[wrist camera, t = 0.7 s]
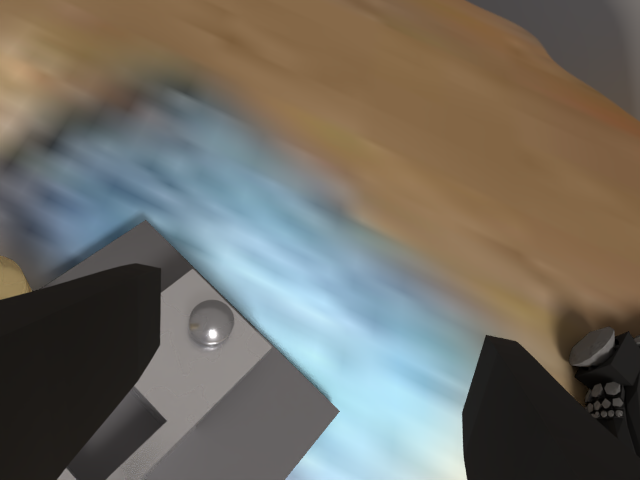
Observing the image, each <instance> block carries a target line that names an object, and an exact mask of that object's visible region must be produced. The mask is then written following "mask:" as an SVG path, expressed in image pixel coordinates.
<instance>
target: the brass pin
mask: <svg viewBox="0 0 640 480" xmlns="http://www.w3.org/2000/svg"><path fill="white" fill-rule="evenodd" d="M28 292H32V290H31V288H30V286H29V284H28V282H27V280H26V278H25V276H24V274H23V272H22V270H21V268H20V267H19V266H18V265H17V264H16V263H15V262H14V261H12V260H11V259H9V258H6V257H4V256H0V300H2V299H5V298H9V297H13V296H17V295H20V294H24V293H28Z"/></svg>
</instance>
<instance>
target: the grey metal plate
mask: <svg viewBox="0 0 640 480" xmlns="http://www.w3.org/2000/svg"><path fill="white" fill-rule="evenodd" d="M271 348H272V346H271V345H270V344H269V343H268V342H267V341H266V340H265V339H264V338H263V337H262V336H261V335H259V334H258V333H257V332H256V331H255V330H254V329H253V328H252V327H251V326H250V325H249V324H248V323H247V322H246V321H245V320H244V319H243V318H242V317H241V316H240V315H239V314H238V313H237V312H236V311H235V310H234V309H233V308H232V307H231V306H230V305H229V304H228V303H227V302H226V301H225V300H224V299H223V298H222V297H221V296H220V295H219V294H218V293H217V292H216V291H215V290H214V289H213V288H212V287H211V286H210V285H209V284H208V283H207V282H206V281H205V280H204V279H203V278H202V277H201V276H200V275H199V274H198V273H197V272H196V271H195V270H194V269H192V270H190V271H189V272H188V273H186V274H185V275H184V276H182V277H181V278H180V279H179V280H177V281H176V282H175V283H173V284H172V285H171V286H169V287H168V288H167V289H166V290H164V291H163V292H162V293H161V321H160V346H159V348H158V350H157V351H156V353H155V355H154V356H153V358H152V360H151V361H150V363H149V365H148V366H147V368H146V369H145V371H144V372H143V374H142V376H141V377H140V379H139V380H138V382H137V383H136V384H135V385H134V387H133V388H132V389H131V390H130V392H131V393H132V394H133V395H134V396H135V397H136V398H137V399H138V400H139V401H140V402H141V403H142V405H143V406H144V407H145V408H146V409H147V410H148V411H149V412H150V413H151V414H152V415H153V416H154V417H155V418H156V420H157V421H158V422H159V423H160V424H161V425H162V426H161V427H160V428H159V429H158V430H157V431H156V432H155V433H154V434H153V435H152V436H151V437H150V438H149V439H148V440H147V441H146V442H145V443H144V444H143V445H142V446H140V447H139V448H138V449H137V450H136V451H135V452H134V453H133V454H132V455H131V456H130V457H129V458H128V459H127V460H126V461H125V462H124V463H123V464H122V465H121V466H120V467H118V468H117V469H116V470H115V471H114V472H113V473H112V474H111V475H110V476H109V477H108V478H107V479H106V480H145V479H146V478H147V477H148V476H149V475H150V474H151V473H152V472H153V471H154V470H155V469H156V468H157V467H158V466H159V465H160V464H161V463H162V462H163V461H164V460H165V459H166V458H167V457H168V456H169V455H170V454H171V453H172V452H173V451H174V450H175V449H176V448H177V447H178V446H179V445H180V444H181V443H182V442H183V441H184V440H185V439H186V438H187V437H188V436H189V435H190V434H191V433H192V432H193V431H194V430H195V428H196V426H197V424H198V423H199V422H200V421H201V420H202V419H203V418H204V417H205V416H206V415H207V414H208V413H209V412H210V411H211V410H212V409H213V408H214V407H215V406H216V405H217V404H218V403H219V402H220V401H221V400H222V399H223V398H224V397H225V396H226V395H227V394H228V393H229V392H230V391H231V390H232V389H233V388H234V387H235V386H236V385H237V384H238V383H239V382H240V381H241V380H242V379H243V378H244V377H245V376H246V375H247V374H248V373H249V372H250V371H251V370H252V369H253V368H254V367H255V366H256V365H257V364H258V363H259V362H260V361H261V360H262V359H263V358H264V357H265V356H266V355H267V354H268V353H269V351H270V350H271ZM57 480H79V479H78V478H77V476H76V475H75V474H74V473H73V472H72V471H71V470H70V468H69V467H68V466H67V467H66V469H65V470H64V471H63V473H62V474H61V475H60V476H59V478H58V479H57Z"/></svg>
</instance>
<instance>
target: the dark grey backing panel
mask: <svg viewBox="0 0 640 480" xmlns="http://www.w3.org/2000/svg"><path fill="white" fill-rule="evenodd" d="M134 263H138V264H143V265H148V266H153V267H157V268H161V293H162V292H163V291H164V290H166V289H167V288H168V287H169V286H171V285H172V284H173V283H175V282H176V281H177V280H179V279H180V278H181V277H182V276H184V275H185V274H186V273H188V272H189V271H190V270H192V269H194V270H195V271H196V272H197V273H198V274H199V275H200V276H201V277H202V278H203V279H204V280H205V281H206V282H207V283H208V284H209V285H210V286H211V287H212V288H213V289H214V290H215V291H216V292H217V293H218V294H219V295H220V296H221V297H222V298H223V299H224V300H225V301H226V302H227V303H228V304H229V305H230V306H231V307H232V308H233V309H234V310H235V311H236V312H237V313H238V314H239V315H240V316H241V317H242V318H243V319H244V320H245V321H246V322H247V323H248V324H249V325H250V326H251V327H252V328H253V329H254V330H255V331H256V332H257V333H258V334H259V335H261V336H262V337H263V338H264V339H265V340H266V341H267V342H268V343H269V344H270V345H271V346H272V348H271V350H270V351H269V353H268V354H267V355H266V356H265V357H264V358H263V359H262V360H261V361H260V362H259V363H258V364H257V365H256V366H255V367H254V368H253V369H252V370H251V371H250V372H249V373H248V374H247V375H246V376H245V377H244V378H243V379H242V380H241V381H240V382H239V383H238V384H237V385H236V386H235V387H234V388H233V389H232V390H231V391H230V392H229V393H228V394H227V395H226V396H225V397H224V398H223V399H222V400H221V401H220V402H219V403H218V404H217V405H216V406H215V407H214V408H213V409H212V410H211V411H210V412H209V413H208V414H207V415H206V416H205V417H204V418H203V419H202V420H201V421H200V422H199V423H198V424H197V426H196V428H195V430H194V431H193V432H192V433H191V434H190V435H189V436H188V437H187V438H186V439H185V440H184V441H183V442H182V443H181V444H180V445H179V446H178V447H177V448H176V449H175V450H174V451H173V452H172V453H171V454H170V455H169V456H168V457H167V458H166V459H165V460H164V461H163V462H162V463H161V464H160V465H159V466H158V467H157V468H156V469H155V470H154V471H153V472H152V473H151V474H150V475H149V476H148V477H147V478H146V479H145V480H285V479H286V477H287V476H288V475H289V474H290V472H291V471H292V470H293V469H294V468H295V466H296V465H297V464H298V463H299V461H300V460H301V459H302V458H303V456H304V455H305V454H306V453H307V451H308V450H309V449H310V448H311V446H312V445H313V444H314V443H315V441H316V440H317V439H318V438H319V436H320V435H321V434H322V433H323V432H324V430H325V429H326V428H327V427H328V425H329V424H330V423H331V422H332V420H333V419H334V418H335V417H336V415H337V414H338V413H339V412H340V411H339V410H338V409H337V408H336V407H335V406H334V405H333V404H332V403H331V402H330V401H329V400H328V399H327V398H326V397H325V396H324V395H323V394H322V393H321V392H320V391H319V390H318V389H317V388H316V387H315V386H314V385H313V384H312V383H310V382H309V381H308V380H307V379H306V378H305V377H304V376H303V375H302V374H301V373H300V372H299V371H298V370H297V369H296V368H295V367H294V366H293V365H292V364H291V363H290V362H289V361H288V360H287V359H286V358H285V357H284V356H283V355H282V354H281V353H280V352H279V351H278V350H277V349H276V348H275V347H274V346H273V345H272V344H271V343H270V342H269V341H268V340H267V339H266V338H265V337H264V336H263V335H262V334H261V333H260V332H259V331H258V330H257V329H256V328H255V327H254V326H253V325H252V324H251V323H250V322H249V321H248V320H247V319H246V318H245V317H244V316H243V315H242V314H241V313H240V312H239V311H238V310H237V309H236V308H234V307H233V306H232V305H231V304H230V303H229V302H228V301H227V300H226V299H225V298H224V297H223V296H222V295H221V294H220V293H219V292H218V291H217V290H216V289H215V288H214V287H213V286H212V285H211V284H210V283H209V282H208V281H207V280H206V279H205V278H204V277H203V276H202V275H201V274H200V273H199V272H198V271H197V270H196V269H195V268H194V267H193V266H192V265H191V264H190V263H189V262H188V261H187V260H186V259H185V258H184V257H183V256H182V255H181V254H180V253H179V252H178V251H177V250H176V249H175V248H174V247H173V246H172V245H171V244H170V243H169V242H168V241H167V240H166V239H165V238H164V237H163V236H162V235H161V234H159V233H158V232H157V231H156V230H155V229H154V228H153V227H152V226H151V225H150V224H149V223H148V222H147V221H146V220H145V221H143V222H142V223H140V224H139V225H137V226H136V227H134V228H133V229H131V230H130V231H128V232H126V233H125V234H123V235H122V236H120V237H119V238H117V239H116V240H114V241H113V242H111V243H110V244H108V245H107V246H105V247H104V248H102V249H101V250H99V251H97V252H96V253H94V254H93V255H91V256H90V257H88V258H87V259H85V260H84V261H82V262H81V263H79V264H78V265H76V266H75V267H73V268H71V269H70V270H68V271H67V272H65V273H64V274H62V275H61V276H59V277H58V278H56V279H55V280H53V281H52V282H50V283H49V284H47V285H45V286H44V287H42V288H41V289H43V288H47V287H50V286H53V285H57V284H60V283H63V282H67V281H70V280H74V279H77V278H80V277H84V276H87V275H90V274H94V273H97V272H101V271H104V270H108V269H111V268H115V267H119V266H123V265H128V264H134ZM161 426H162V425H161V424H160V423H159V422H158V421H157V420H156V418H155V417H154V416H153V415H152V414H151V413H150V412H149V411H148V410H147V409H146V408H145V407H144V406H143V405H142V403H141V402H140V401H139V400H138V399H137V398H136V397H135V396H134V395H133V394H132V393H131V392H129V393H128V394H127V395H126V396H125V398H124V399H123V400H122V401H121V402H120V404H119V405H118V406H117V407H116V409H115V410H114V411H113V412H112V413H111V415H110V416H109V417H108V418H107V419H106V420H105V422H104V423H103V424H102V425H101V426H100V428H99V429H98V430H97V431H96V432H95V434H94V435H93V436H92V437H91V438H90V440H89V441H88V442H87V443H86V444H85V445H84V447H83V448H82V449H81V450H80V451H79V453H78V454H77V455H76V456H75V457H74V459H73V460H72V461H71V462H70V464H69V465H68V467H69V468H70V470H71V471H72V472H73V473H74V474H75V475H76V476H77V478H78V479H79V480H106V479H107V478H108V477H109V476H110V475H111V474H112V473H113V472H114V471H115V470H116V469H117V468H118V467H120V466H121V465H122V464H123V463H124V462H125V461H126V460H127V459H128V458H129V457H130V456H131V455H132V454H133V453H134V452H135V451H136V450H137V449H138V448H139V447H140V446H142V445H143V444H144V443H145V442H146V441H147V440H148V439H149V438H150V437H151V436H152V435H153V434H154V433H155V432H156V431H157V430H158V429H159V428H160V427H161Z"/></svg>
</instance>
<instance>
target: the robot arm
mask: <svg viewBox="0 0 640 480" xmlns="http://www.w3.org/2000/svg"><path fill="white" fill-rule="evenodd" d="M160 321H161V268H157V267H153V266H148V265H143V264H138V263H134V264H128V265H123V266H119V267H115V268H111V269H108V270H104V271H101V272H97V273H94V274H90V275H87V276H84V277H80V278H77V279H74V280H70V281H67V282H63V283H60V284H57V285H53V286H50V287H47V288H43V289H39V290H35V291H32V292H28V293H24V294H20V295H17V296H13V297H9V298H5V299H2V300H0V480H57V479H58V478H59V476H60V475H61V474H62V473H63V471H64V470H65V469H66V467H67V466H68V465H69V464H70V462H71V461H72V460H73V459H74V457H75V456H76V455H77V454H78V453H79V451H80V450H81V449H82V448H83V447H84V445H85V444H86V443H87V442H88V441H89V440H90V438H91V437H92V436H93V435H94V434H95V432H96V431H97V430H98V429H99V428H100V426H101V425H102V424H103V423H104V422H105V420H106V419H107V418H108V417H109V416H110V415H111V413H112V412H113V411H114V410H115V409H116V407H117V406H118V405H119V404H120V402H121V401H122V400H123V399H124V398H125V396H126V395H127V394H128V393H129V392H130V390H131V389H132V388H133V387H134V385H135V384H136V383H137V382H138V380H139V379H140V377H141V376H142V374H143V372H144V371H145V369H146V368H147V366H148V365H149V363H150V361H151V360H152V358H153V356H154V355H155V353H156V351H157V350H158V348H159V346H160ZM462 424H463V452H464V462H465V468H466V475H467V480H640V458H639V457H638V456H637V455H636V454H635V453H633V452H632V451H631V450H630V449H629V448H627V447H626V446H625V445H624V444H623V443H622V442H621V441H620V440H618V439H617V438H616V437H615V436H614V435H613V434H612V433H611V432H609V431H608V430H607V429H606V428H605V427H604V426H603V425H602V424H601V423H599V422H598V421H597V420H596V419H595V418H594V417H593V416H592V415H591V414H590V413H589V412H588V411H587V410H586V409H585V408H583V407H582V406H581V405H580V404H579V403H578V402H577V401H576V400H575V399H574V398H573V397H572V396H571V395H570V394H569V393H568V392H567V391H566V390H565V389H564V388H563V387H562V386H561V385H560V384H559V383H558V382H557V381H556V380H555V379H554V378H553V377H552V376H551V375H550V374H549V373H548V372H547V371H546V370H545V369H544V368H543V367H542V366H541V365H540V363H539V362H538V361H537V360H536V359H535V358H534V357H533V356H532V355H531V354H530V353H529V352H528V351H526V350H525V349H524V348H523V347H522V346H521V345H520V344H519V343H518V342H516V341H512V340H508V339H503V338H498V337H493V336H488V335H486V337H485V340H484V343H483V347H482V350H481V353H480V357H479V360H478V363H477V366H476V370H475V373H474V376H473V379H472V383H471V386H470V389H469V392H468V396H467V399H466V402H465V405H464V409H463V412H462Z"/></svg>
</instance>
